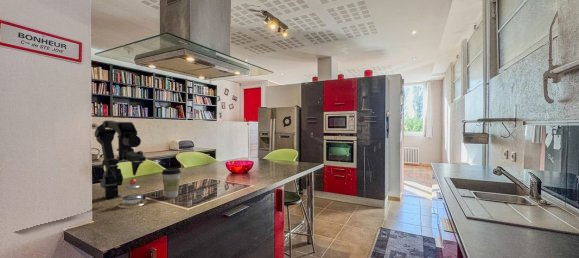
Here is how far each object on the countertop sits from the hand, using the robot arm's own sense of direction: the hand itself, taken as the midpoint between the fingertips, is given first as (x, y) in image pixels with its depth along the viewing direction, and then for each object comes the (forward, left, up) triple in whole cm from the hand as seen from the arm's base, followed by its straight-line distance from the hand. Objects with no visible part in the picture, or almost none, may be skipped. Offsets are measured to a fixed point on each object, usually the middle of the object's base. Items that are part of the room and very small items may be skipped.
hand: (125, 177), depth 126 cm
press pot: (+5, 0, -13) cm, 14 cm away
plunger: (+5, 0, -5) cm, 7 cm away
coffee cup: (+11, +18, -14) cm, 25 cm away
